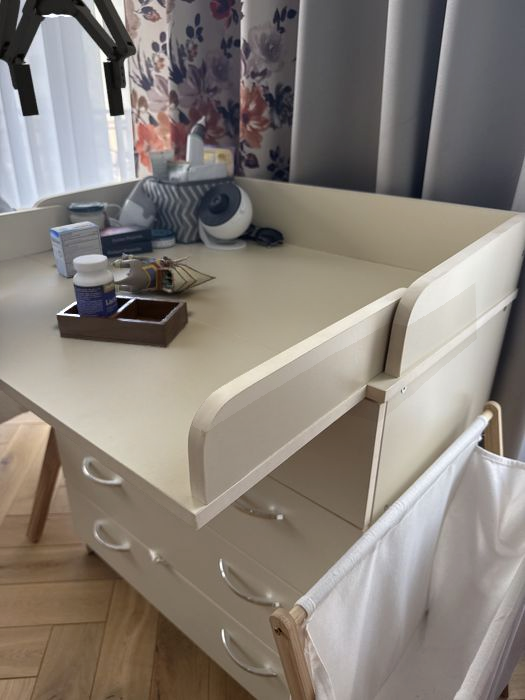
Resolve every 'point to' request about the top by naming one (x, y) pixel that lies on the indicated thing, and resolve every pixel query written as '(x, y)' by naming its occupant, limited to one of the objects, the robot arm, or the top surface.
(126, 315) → the tray
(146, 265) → the figurine
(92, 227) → the medicine box
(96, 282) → the pill bottle
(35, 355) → the top surface
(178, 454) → the top surface
